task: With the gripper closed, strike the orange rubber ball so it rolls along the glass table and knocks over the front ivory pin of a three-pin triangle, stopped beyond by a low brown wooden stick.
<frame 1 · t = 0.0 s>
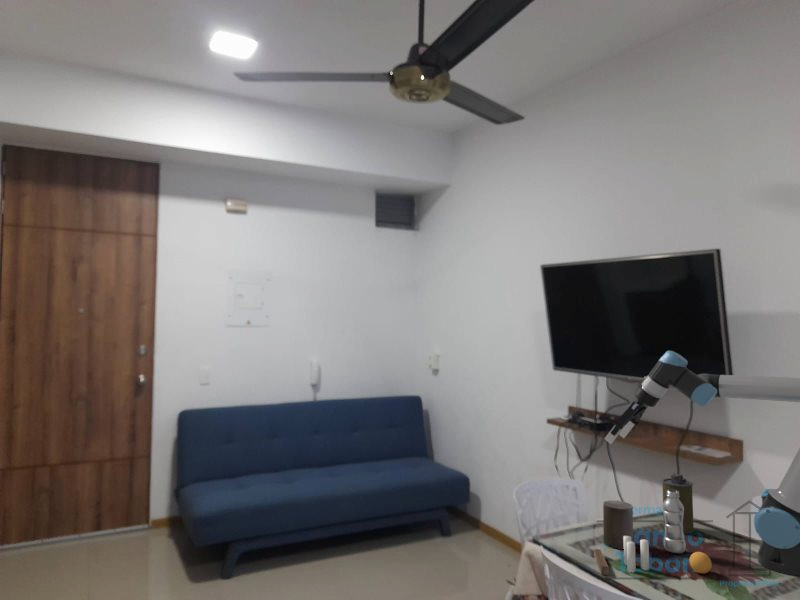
hand: (614, 438, 199), 36 cm above the table, tool tilted 35°, fingers open, 13 cm apart
front pin: (645, 568, 175), on the table
ball: (700, 562, 173), on the table
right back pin: (628, 564, 179), on the table
canister: (678, 529, 211), on the table
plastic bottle: (674, 552, 189), on the table
pillar candle: (618, 545, 196), on the table
left back pin: (631, 571, 174), on the table
brown wooden stick: (601, 565, 178), on the table
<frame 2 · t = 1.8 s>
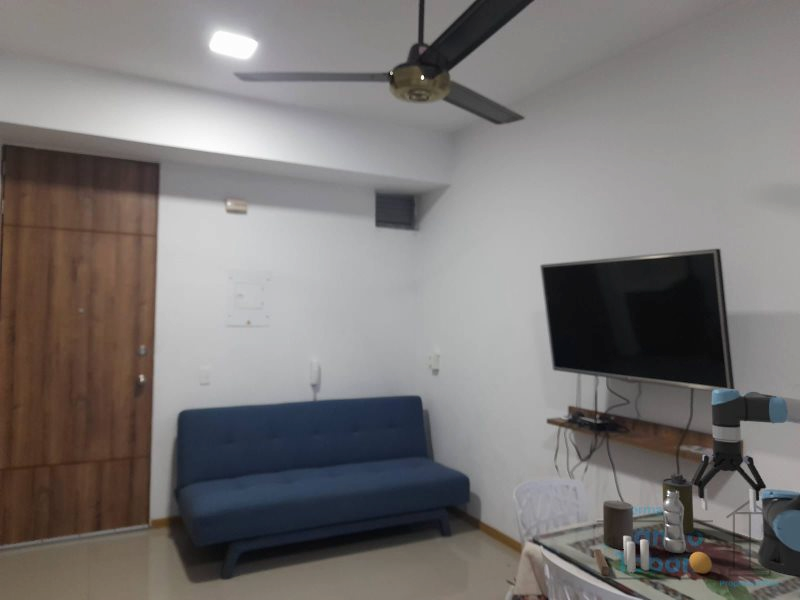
hand: (728, 510, 172), 19 cm above the table, tool pointing down, fingers open, 13 cm apart
nothing on the table moved.
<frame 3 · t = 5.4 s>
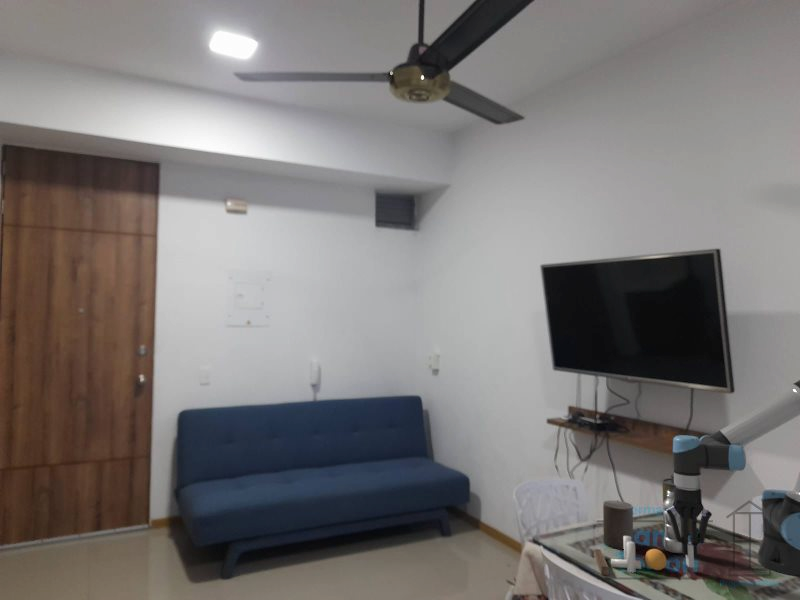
hand: (690, 565, 173), 2 cm above the table, tool pointing down, fingers closed
front pin: (640, 564, 176), point 1 cm above the table, tilted 90°
ball: (655, 559, 175), on the table
everything else where it was.
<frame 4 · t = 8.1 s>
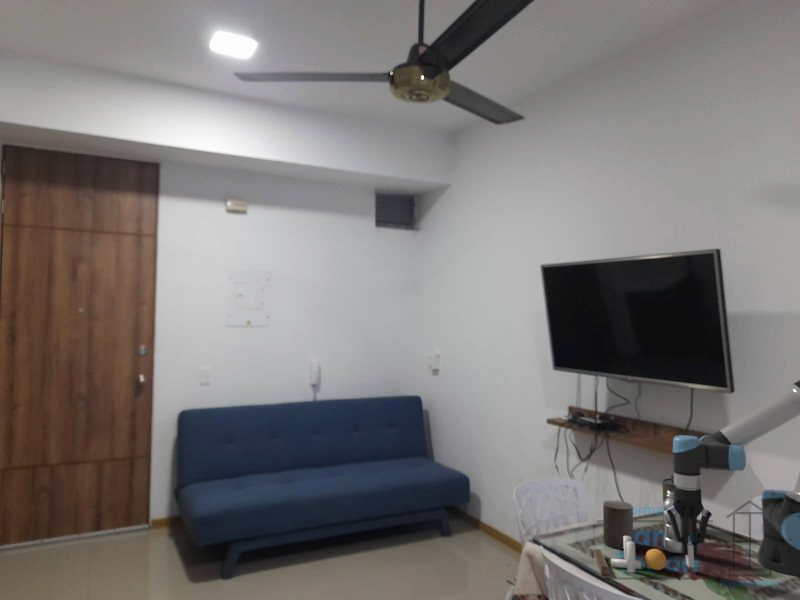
hand: (690, 565, 173), 2 cm above the table, tool pointing down, fingers closed
nothing on the table moved.
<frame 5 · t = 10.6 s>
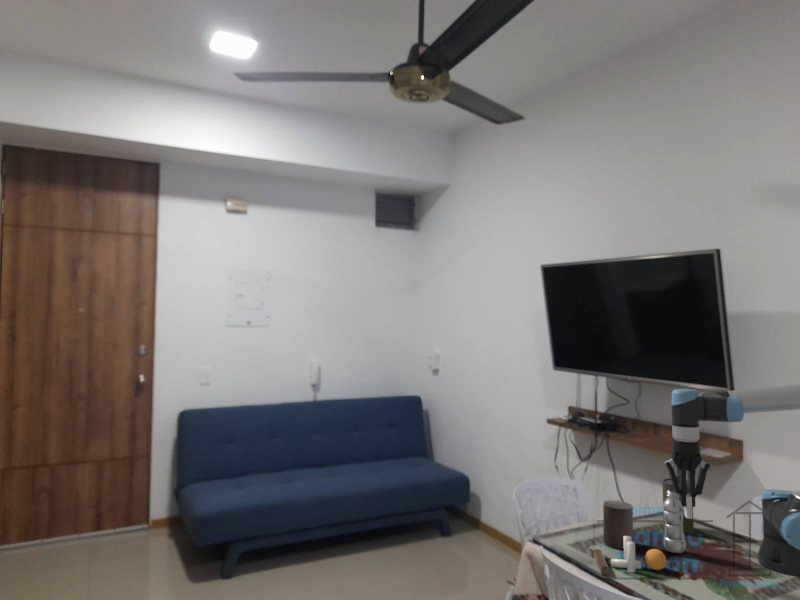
hand: (688, 517, 174), 16 cm above the table, tool pointing down, fingers closed
nothing on the table moved.
at the end: front pin tilted 90°; front pin never touched the robot; ball moved 12.8 cm from its start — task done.
